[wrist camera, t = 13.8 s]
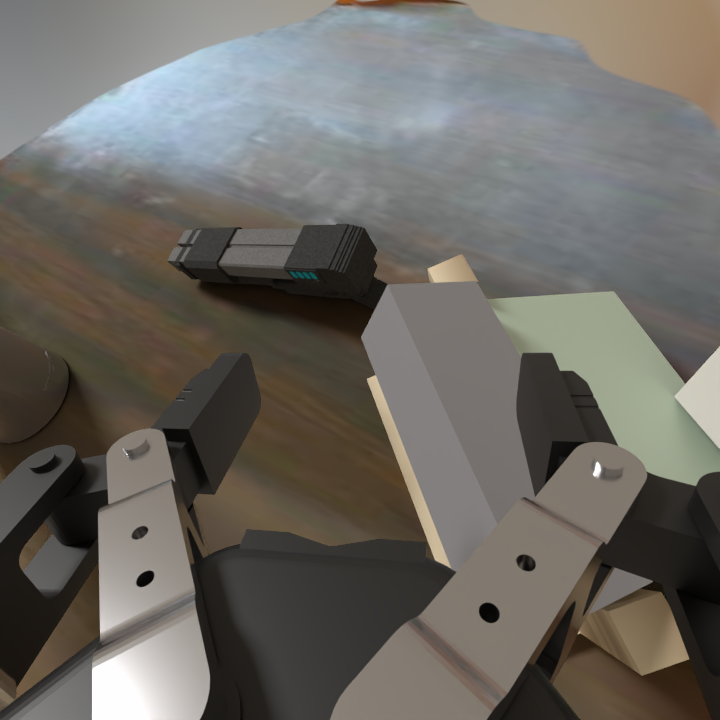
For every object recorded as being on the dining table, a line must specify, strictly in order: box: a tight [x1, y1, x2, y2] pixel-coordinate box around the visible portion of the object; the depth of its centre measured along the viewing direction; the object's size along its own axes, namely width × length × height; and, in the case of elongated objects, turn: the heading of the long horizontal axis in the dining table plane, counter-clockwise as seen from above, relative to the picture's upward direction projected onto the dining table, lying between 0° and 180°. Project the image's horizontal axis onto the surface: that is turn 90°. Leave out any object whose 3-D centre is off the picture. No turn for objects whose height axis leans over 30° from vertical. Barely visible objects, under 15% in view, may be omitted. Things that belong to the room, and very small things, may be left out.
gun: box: [167, 224, 388, 310], centre depth 39 cm, size 4×20×10 cm, turn 69°
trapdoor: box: [361, 281, 720, 615], centre depth 21 cm, size 17×15×4 cm
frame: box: [367, 254, 689, 676], centre depth 24 cm, size 8×19×11 cm, turn 19°
